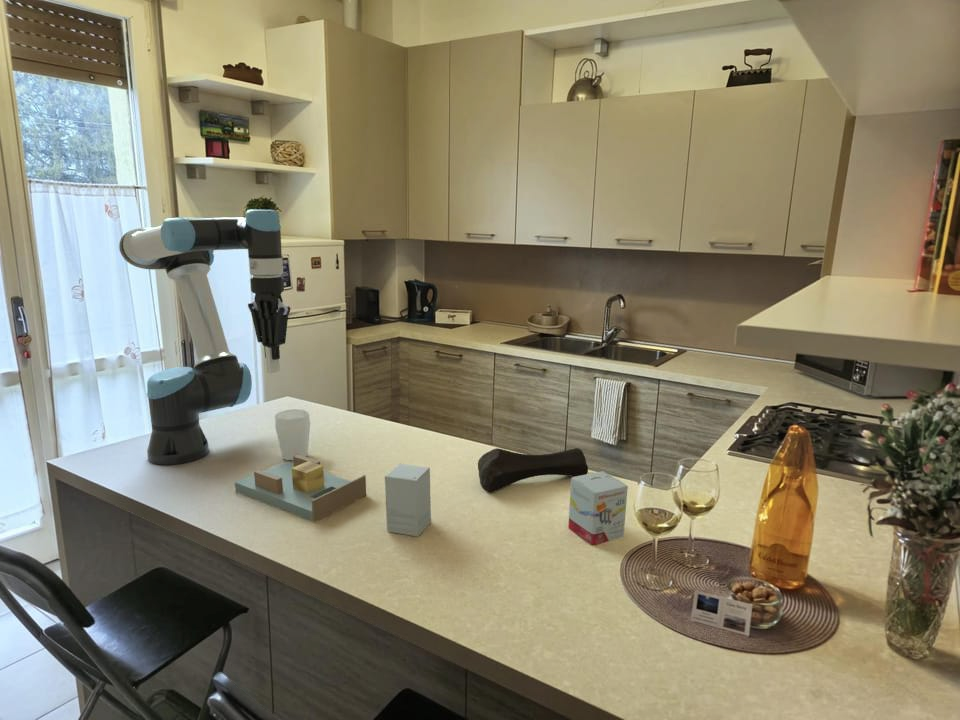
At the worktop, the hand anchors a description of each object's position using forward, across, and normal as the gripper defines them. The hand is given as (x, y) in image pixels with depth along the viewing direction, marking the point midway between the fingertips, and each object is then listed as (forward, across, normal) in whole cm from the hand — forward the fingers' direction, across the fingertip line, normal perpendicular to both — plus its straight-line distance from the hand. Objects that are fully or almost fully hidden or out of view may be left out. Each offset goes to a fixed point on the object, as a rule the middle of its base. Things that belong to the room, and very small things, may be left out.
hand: (273, 371), depth 155 cm
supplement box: (+27, +46, -4) cm, 53 cm away
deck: (+26, +14, -6) cm, 31 cm away
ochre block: (+24, +17, -6) cm, 30 cm away
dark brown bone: (+27, +56, +31) cm, 69 cm away
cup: (+27, -5, +9) cm, 29 cm away
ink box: (+27, +80, +16) cm, 86 cm away
